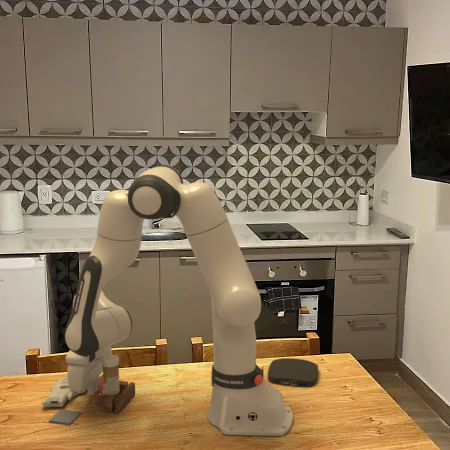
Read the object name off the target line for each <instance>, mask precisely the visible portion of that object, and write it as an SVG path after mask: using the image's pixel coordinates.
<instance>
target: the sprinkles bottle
mask: <svg viewBox="0 0 450 450" xmlns="http://www.w3.org/2000/svg"><path fill="white" fill-rule="evenodd" d="M102 365H103V372H102V374H103V395H107V396H115V399H116V398H117V397H118V396H119V391H120V388H119V381H120V372H119V371H120V369H119V365H120V357H119V356H118V355H116V354H112V355H106V356H104V357H103V358H102Z"/></svg>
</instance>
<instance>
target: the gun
mask: <svg viewBox="0 0 450 450" xmlns="http://www.w3.org/2000/svg"><path fill="white" fill-rule="evenodd" d="M49 390H50V391H49V394H48V395H47V397H45V399H44V400H42V402H41V405H43V408H51V407H53V408H55V407H56V408H57V407H58V408H63V406H64V405H65V403H66V402H67V400H69V401H70V400H71V399H72V398H73V397H75V396H76V395H78V394H80V393H78V392H72V391H71V390H70V389H69V385H68V377H62V378H59V379H58V380H57V381H56V383H54V386H52V387H51V388H49ZM86 391H88V389H87V388H86V389H85V390H84V391H83V392H82V393H85V392H86Z"/></svg>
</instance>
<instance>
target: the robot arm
mask: <svg viewBox="0 0 450 450" xmlns="http://www.w3.org/2000/svg"><path fill="white" fill-rule="evenodd" d="M103 198H104V199H103V201H102V205H101V208H100V213H99V218H98V224H97V231H96V238H95V243H94V246H93V247H92V249H91V252H90V253H89V256H88V257H87V259H86V260H85V262H84V263H83V265H82V268H81V272H80V275H79V279H78V285H77V288H76V292H75V295H74V297H73V299H72V300H73V301H72V310H71V314H70V317H69V319H68V322H67V324H66V326H65V330H64V341H65V342H64V343H65V345H66V347H67V349H69V351H68V353H67V354H66V355H65V362H66V364H68V365H67V380H68V385H69V389H70V390H71V391H72V392H78V393H79V394H82V393H84V392H83V391H84V390H85V389H86V388H87V394H88V396H89V395H90V396H94V395H93V394H94V393H95V392H96V391H97V390H98V383H99V379H100V376H101V375H102V374H103V365H102V358H103V357H104V356H106V355H113V351H112V346H113V345H114V344H116V343H119V342H121V341H124V340H126V339H127V338H129V336H130V335H131V333H132V330H133V319H132V316H131V314H130V312H129V310H127V309H126V308H125V307H123V306H121V305H119V304H118V305H117V304H115V303H114V302H112V301H111V300H109V298H107V297H106V294H105V293H104V292H103V289H104V287H105V286H106V284H107V283H108V282H109V281H110V280H111V279H112V278H114V277H115V276H116V275H117V274H119V273H120V272H122V271H124V270H126V269H127V268H128V267H130V266H131V265H132V264H133V263H134V262H135V261H136V260H137V258H138V255H139V253H140V249H141V245H142V238H143V237H142V236H143V225H144V221H145V220H158V219H159V220H160V219H172V218H174V217H176V218H177V219H178V220H179V222H180V224H181V226H182V228H183V231H184V233H185V236H186V238H187V240H188V243H189V245H190V248H191V250H192V252H193V254H194V257H195V259H196V262H197V264H198V266H199V269H200V271H201V274H202V276H203V279H204V281H205V284H206V286H207V289H208V291H209V293H210V305H211V323H212V337H213V339H212V341H213V347H212V348H213V349H212V350H213V352H212V353H213V355H212V356H213V359H212V360H213V364H212V366H211V371H210V372H211V373H210V374H211V379H210V381H211V387H212V391H211V392H212V393H211V399H210V404H209V409H208V411H207V414H206V416H207V420H208V421H209V422H210V423H211V424H212V425H213V426H215V427H216V428H218V429H219V430H220V432H221V434H224V435H229V436H231V435H232V436H261V437H262V436H263V437H267V436H268V437H270V436H271V437H273V436H274V437H282V436H285V435H286V434H287V433H288V432H289V431H290V430H291V428H292V427H293V422H294V412H293V410H292V408H291V407H290V406H288V405H285V400H284V396H283V394H282V392H281V391H280V390H279V389H277V388H276V387H275V386H273V385H272V384H270V382H269V381H268V380H266V379H264V377H265V376H264V371H265V370H264V369H265V368H264V366H263V365H262V367H261V368H260V366H259V365H257V335H256V327H255V326H256V325H255V322H256V321H257V319H259V318H260V317H259V316H260V314H261V310H262V299H261V295H260V292H259V289H258V287H257V285H256V282H255V280H254V276H252V273H251V272H250V268H249V266H248V264H247V261H246V259H245V257H244V255H243V252H242V250H241V248H240V246H239V243H238V240H237V238H236V236H235V233H234V230H233V228H232V226H231V224H230V223H231V222H230V221H229V218H228V216H227V213H226V211H225V209H224V207H223V204H222V202H221V201H220V199H219V197H218V196H217V194H216V193H215V191H214V190H213V187H212V186H211V185H210V184H208V183H206V182H203V181H195V182H191V183H189V184H184V180H183V177H182V175H181V173H180V172H179V171H178V170H177V169H176V168H175V167H173V166H171V165H167V164H157V165H154V166H152V167H151V168H149V169H146V170H144V171H143V172H141V173H140V174H139V175H138V176H137V178H136V179H134V180H133V181H132V182H131V184H130V185H129V188H128V189H116V190H113V191H110V192H108V193H107V194H105V197H103Z"/></svg>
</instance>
